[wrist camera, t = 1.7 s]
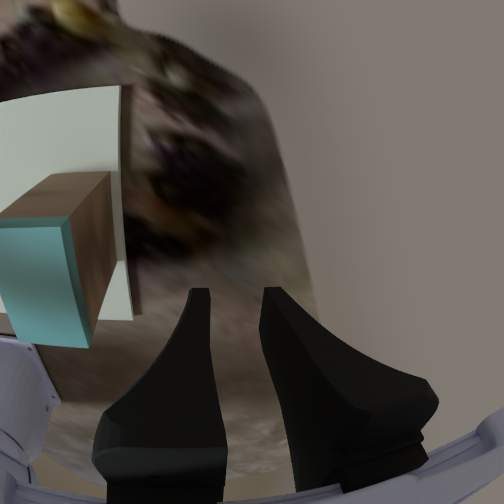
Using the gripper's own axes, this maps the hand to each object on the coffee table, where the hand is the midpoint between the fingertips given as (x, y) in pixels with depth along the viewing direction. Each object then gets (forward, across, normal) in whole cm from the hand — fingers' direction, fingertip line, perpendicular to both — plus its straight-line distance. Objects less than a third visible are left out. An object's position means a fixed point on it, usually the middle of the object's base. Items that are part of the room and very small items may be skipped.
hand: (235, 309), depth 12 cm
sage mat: (+9, +13, 0) cm, 16 cm away
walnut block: (+9, +8, 0) cm, 12 cm away
